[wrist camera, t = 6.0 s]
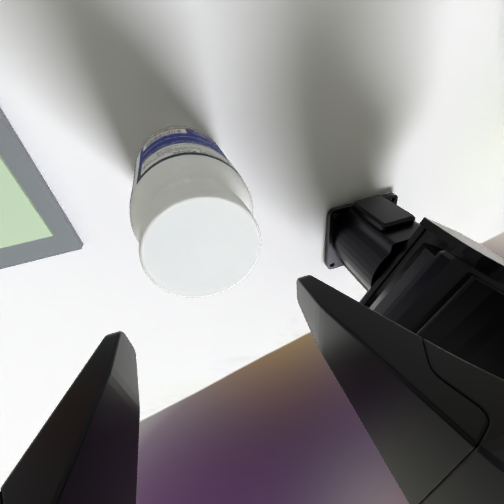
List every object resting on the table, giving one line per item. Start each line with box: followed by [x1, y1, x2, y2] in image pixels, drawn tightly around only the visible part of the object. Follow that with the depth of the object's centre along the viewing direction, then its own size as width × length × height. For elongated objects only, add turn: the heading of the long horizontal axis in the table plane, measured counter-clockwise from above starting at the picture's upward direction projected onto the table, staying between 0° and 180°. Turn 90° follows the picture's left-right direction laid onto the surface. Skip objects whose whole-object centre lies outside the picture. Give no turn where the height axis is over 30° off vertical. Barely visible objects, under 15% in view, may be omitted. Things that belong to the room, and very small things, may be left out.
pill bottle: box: [130, 127, 261, 297], centre depth 14 cm, size 6×6×10 cm
